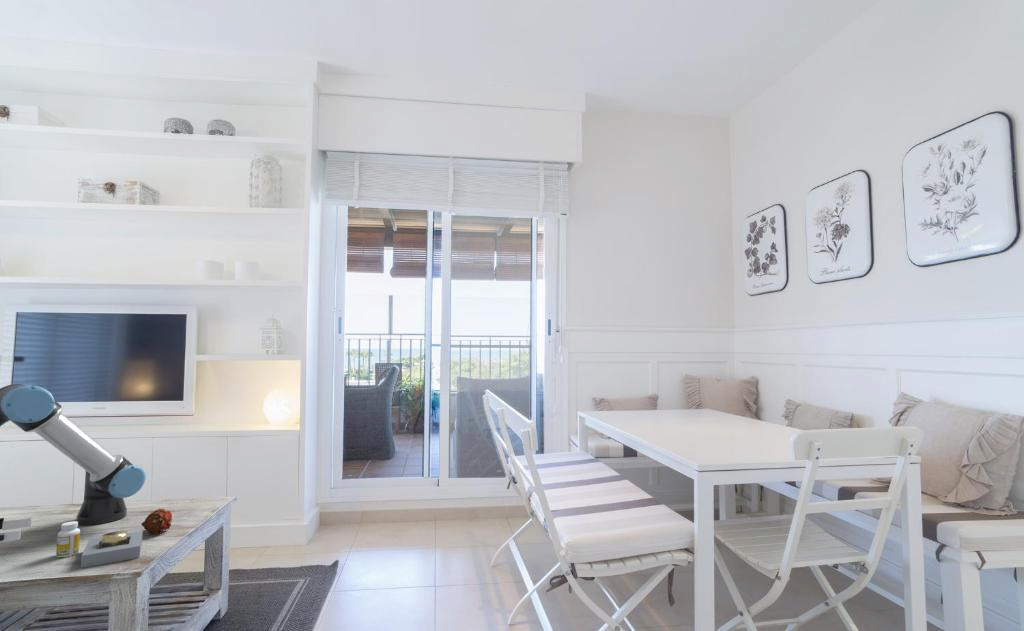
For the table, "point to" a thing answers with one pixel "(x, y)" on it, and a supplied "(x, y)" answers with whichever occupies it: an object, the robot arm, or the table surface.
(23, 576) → the table surface
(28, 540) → the table surface
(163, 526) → the dragon fruit
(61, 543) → the supplement bottle
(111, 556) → the socket plate
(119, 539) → the plunger disc
